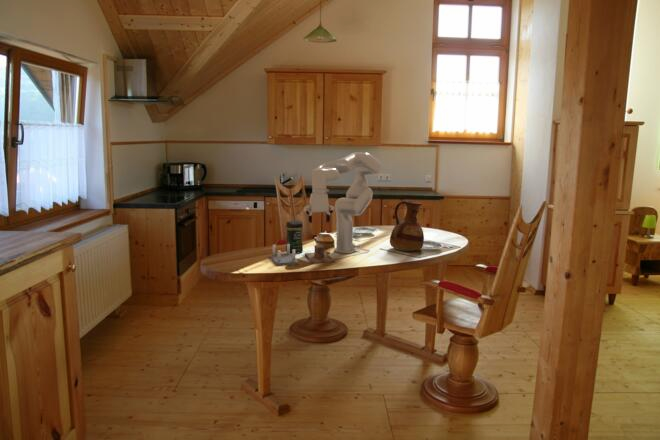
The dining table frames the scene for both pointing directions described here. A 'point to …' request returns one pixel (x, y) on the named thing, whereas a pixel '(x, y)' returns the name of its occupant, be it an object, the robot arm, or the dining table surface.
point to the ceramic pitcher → (407, 229)
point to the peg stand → (284, 257)
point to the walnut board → (319, 255)
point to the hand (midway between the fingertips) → (319, 222)
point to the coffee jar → (294, 236)
